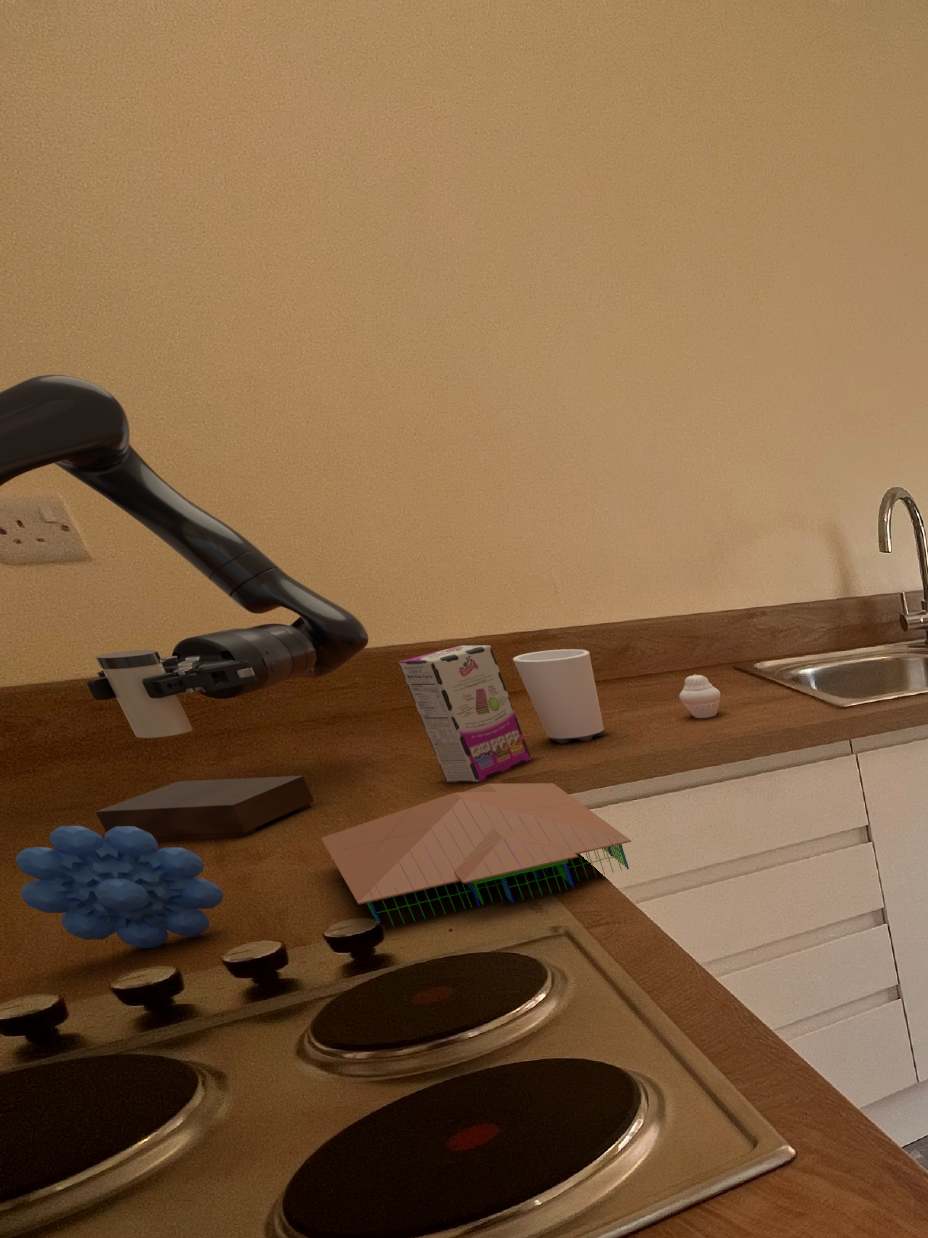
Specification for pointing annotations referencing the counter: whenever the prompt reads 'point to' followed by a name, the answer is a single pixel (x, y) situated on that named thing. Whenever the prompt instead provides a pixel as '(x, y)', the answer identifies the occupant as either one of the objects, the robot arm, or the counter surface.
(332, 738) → the counter surface
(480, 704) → the candy bar box
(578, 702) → the cup
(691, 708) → the muffin
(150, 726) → the spice jar
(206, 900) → the blue flower
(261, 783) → the platform
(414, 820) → the house
